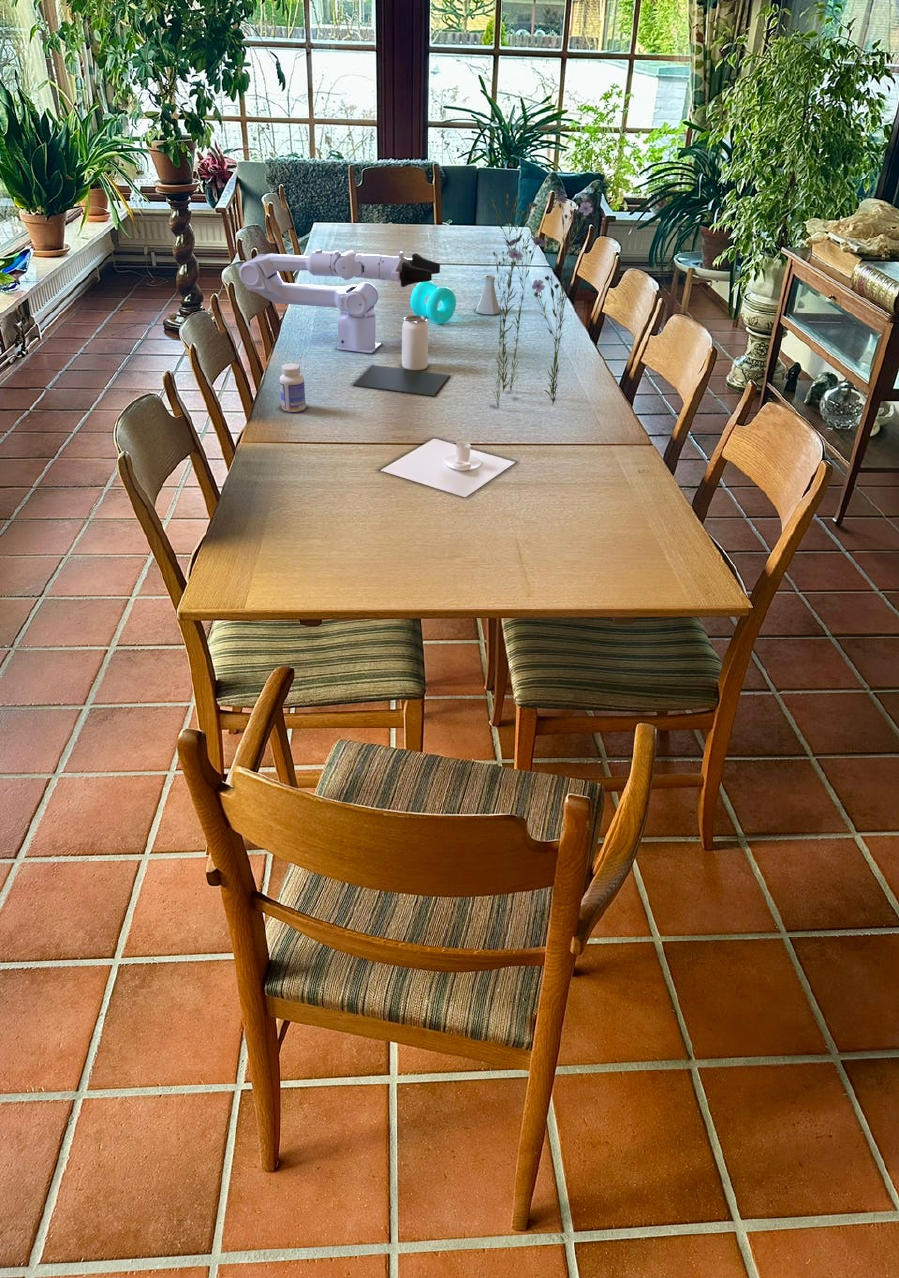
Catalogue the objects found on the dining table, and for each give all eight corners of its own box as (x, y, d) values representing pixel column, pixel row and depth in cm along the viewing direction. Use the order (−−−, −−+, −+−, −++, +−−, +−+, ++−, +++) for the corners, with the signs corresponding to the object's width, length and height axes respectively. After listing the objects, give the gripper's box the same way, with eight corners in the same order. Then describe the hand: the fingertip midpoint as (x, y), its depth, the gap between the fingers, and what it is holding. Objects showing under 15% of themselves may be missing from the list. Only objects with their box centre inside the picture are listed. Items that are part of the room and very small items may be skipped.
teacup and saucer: (467, 477, 197) (468, 458, 195) (433, 466, 200) (434, 448, 198) (489, 462, 203) (490, 443, 201) (456, 452, 207) (457, 434, 204)
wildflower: (463, 408, 227) (474, 198, 201) (496, 377, 244) (510, 180, 219) (557, 426, 220) (580, 211, 195) (584, 393, 238) (608, 191, 213)
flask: (472, 312, 288) (473, 277, 282) (480, 306, 294) (482, 271, 288) (495, 316, 286) (497, 281, 280) (503, 310, 292) (506, 275, 286)
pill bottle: (309, 405, 225) (307, 364, 219) (299, 414, 220) (296, 371, 215) (288, 402, 226) (285, 360, 220) (277, 410, 222) (274, 367, 216)
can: (424, 372, 246) (425, 323, 239) (398, 369, 246) (399, 321, 240) (429, 363, 251) (431, 316, 244) (405, 361, 252) (405, 313, 245)
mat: (353, 385, 236) (353, 384, 236) (372, 366, 248) (372, 365, 247) (433, 396, 232) (434, 395, 232) (449, 376, 244) (449, 375, 244)
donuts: (430, 327, 275) (431, 290, 269) (407, 318, 281) (408, 282, 276) (457, 321, 281) (459, 285, 275) (434, 312, 287) (435, 277, 281)
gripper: (373, 257, 238) (427, 262, 235) (391, 244, 250) (443, 248, 247) (374, 287, 242) (427, 292, 239) (391, 273, 254) (442, 277, 251)
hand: (435, 272), depth 243 cm, fingers open, 7 cm apart
